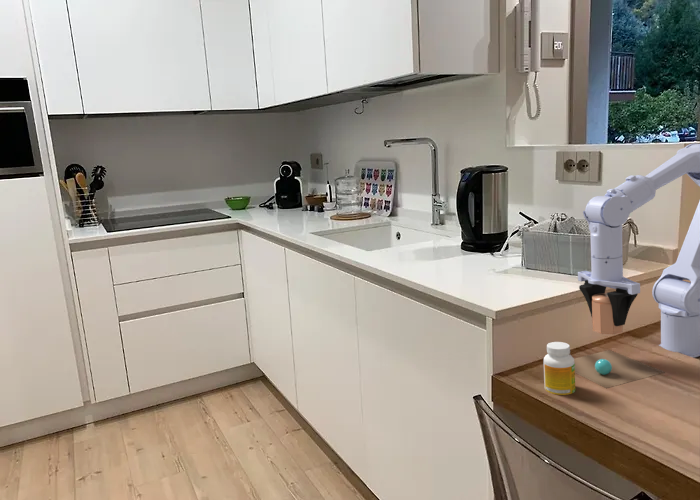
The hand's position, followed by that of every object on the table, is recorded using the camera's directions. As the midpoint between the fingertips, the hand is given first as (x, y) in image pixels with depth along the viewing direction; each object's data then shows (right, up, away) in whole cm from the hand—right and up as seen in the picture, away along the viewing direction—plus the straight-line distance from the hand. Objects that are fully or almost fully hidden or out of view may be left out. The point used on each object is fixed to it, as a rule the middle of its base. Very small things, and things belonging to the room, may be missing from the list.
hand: (607, 321), depth 109 cm
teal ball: (-3, -8, -5) cm, 10 cm away
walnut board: (-1, -10, -2) cm, 10 cm away
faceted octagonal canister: (0, -2, 0) cm, 2 cm away
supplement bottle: (-13, -13, -9) cm, 20 cm away
